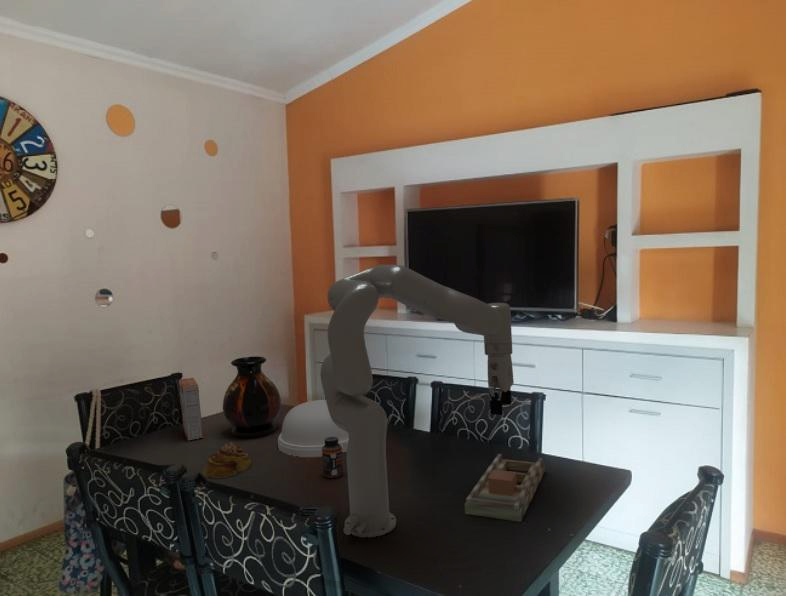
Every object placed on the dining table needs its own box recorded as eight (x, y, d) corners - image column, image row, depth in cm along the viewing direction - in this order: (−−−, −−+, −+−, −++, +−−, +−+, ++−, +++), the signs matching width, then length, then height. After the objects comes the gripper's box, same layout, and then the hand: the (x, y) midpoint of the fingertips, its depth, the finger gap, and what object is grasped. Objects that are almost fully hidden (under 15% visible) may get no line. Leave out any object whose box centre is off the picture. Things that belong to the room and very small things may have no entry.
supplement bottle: (340, 479, 173) (337, 442, 172) (320, 478, 175) (318, 441, 173) (345, 471, 179) (343, 435, 178) (327, 471, 180) (324, 435, 179)
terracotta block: (511, 496, 150) (511, 480, 150) (488, 493, 153) (488, 478, 152) (516, 486, 155) (516, 472, 155) (494, 483, 158) (494, 469, 158)
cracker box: (182, 432, 228) (178, 379, 226) (199, 429, 231) (194, 376, 229) (186, 442, 215) (181, 386, 214) (203, 439, 218) (198, 383, 216)
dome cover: (261, 443, 210) (258, 405, 209) (330, 423, 230) (328, 388, 228) (309, 465, 186) (306, 422, 185) (382, 441, 205) (380, 402, 204)
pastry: (258, 463, 191) (257, 439, 190) (228, 481, 177) (226, 455, 176) (226, 459, 196) (224, 436, 195) (194, 476, 182) (192, 451, 182)
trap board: (520, 521, 141) (520, 505, 141) (465, 513, 147) (464, 498, 147) (544, 471, 170) (544, 458, 170) (497, 466, 176) (496, 453, 176)
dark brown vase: (224, 428, 230) (218, 357, 228) (279, 420, 237) (274, 351, 234) (225, 445, 210) (219, 368, 207) (286, 435, 216) (280, 361, 214)
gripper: (503, 355, 151) (507, 419, 153) (519, 342, 167) (521, 401, 169) (475, 354, 155) (479, 417, 156) (493, 342, 170) (496, 399, 172)
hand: (501, 409), depth 162 cm, fingers open, 9 cm apart
